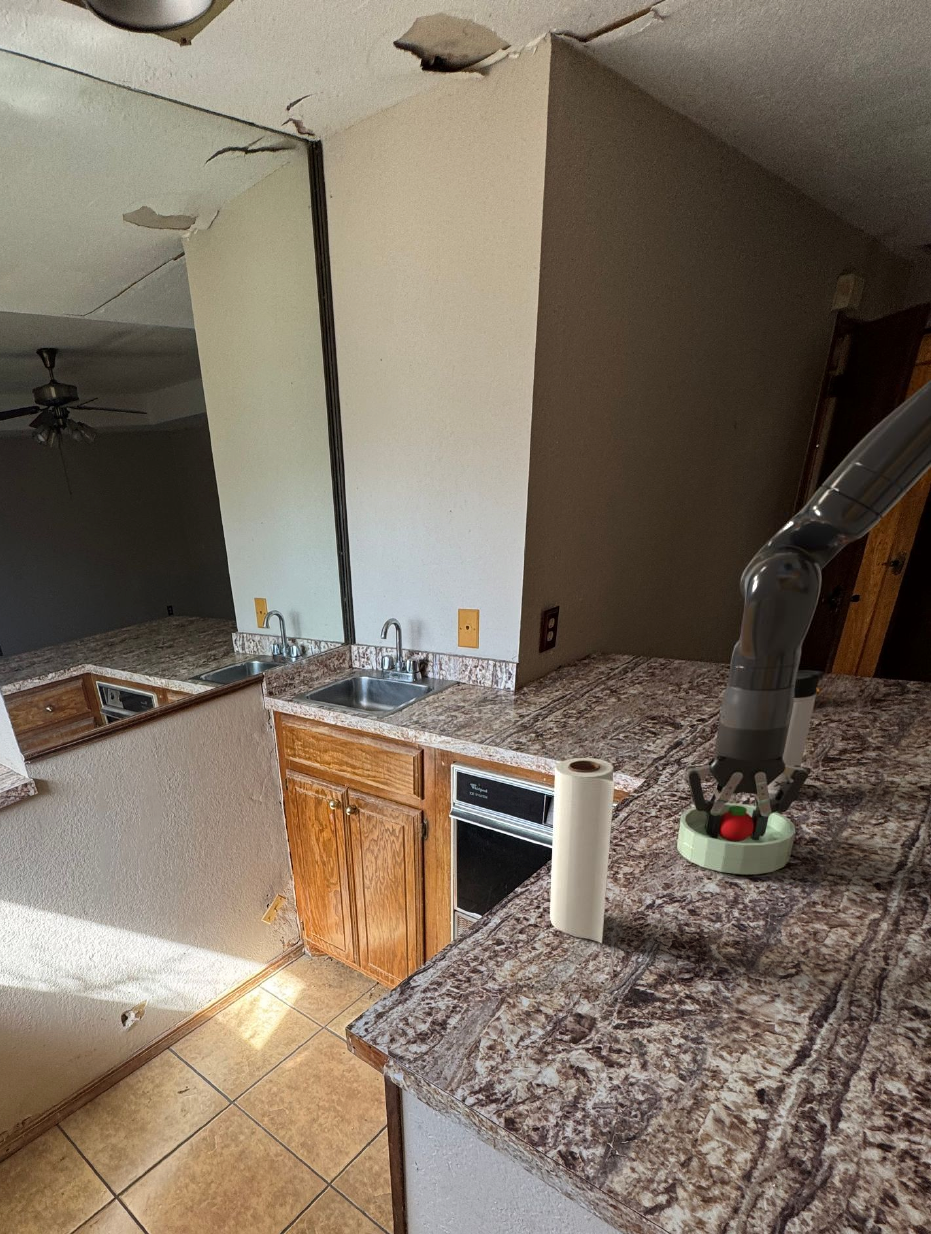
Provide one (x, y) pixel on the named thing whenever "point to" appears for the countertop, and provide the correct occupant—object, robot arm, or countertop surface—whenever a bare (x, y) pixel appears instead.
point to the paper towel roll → (581, 846)
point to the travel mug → (798, 722)
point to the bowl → (736, 844)
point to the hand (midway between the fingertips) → (733, 836)
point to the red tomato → (736, 824)
